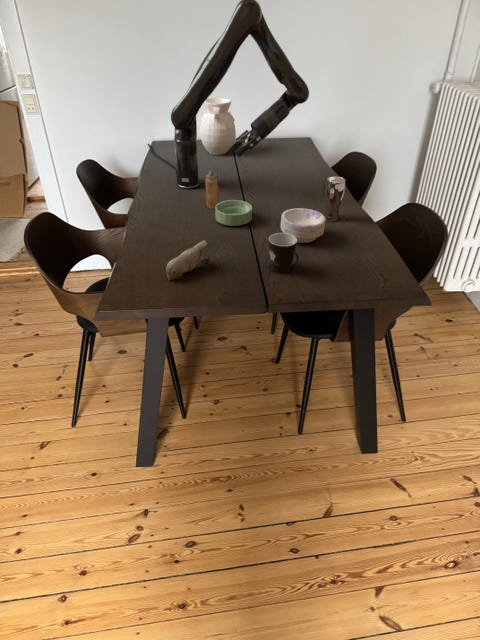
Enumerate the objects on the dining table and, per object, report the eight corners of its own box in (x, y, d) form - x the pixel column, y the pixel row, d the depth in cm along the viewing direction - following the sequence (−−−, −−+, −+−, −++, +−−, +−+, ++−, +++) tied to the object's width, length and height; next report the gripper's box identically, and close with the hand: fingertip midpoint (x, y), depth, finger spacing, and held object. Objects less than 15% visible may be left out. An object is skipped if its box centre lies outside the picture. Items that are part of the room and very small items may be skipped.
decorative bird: (162, 277, 130) (159, 255, 126) (201, 258, 140) (199, 237, 135) (173, 284, 127) (171, 262, 123) (212, 264, 137) (211, 243, 132)
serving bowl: (208, 218, 163) (207, 205, 160) (236, 209, 170) (236, 197, 167) (230, 231, 155) (230, 218, 152) (259, 221, 162) (259, 208, 159)
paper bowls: (326, 231, 156) (329, 210, 151) (318, 250, 144) (321, 228, 139) (285, 224, 159) (287, 204, 154) (274, 243, 148) (276, 221, 143)
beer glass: (339, 222, 161) (346, 183, 152) (320, 221, 162) (326, 182, 153) (340, 215, 166) (346, 176, 157) (321, 213, 167) (327, 175, 158)
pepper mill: (204, 205, 173) (202, 170, 164) (213, 202, 175) (212, 168, 166) (211, 209, 170) (209, 174, 161) (220, 206, 172) (220, 171, 163)
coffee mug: (265, 261, 138) (266, 233, 132) (291, 260, 139) (294, 232, 133) (270, 281, 129) (272, 251, 123) (298, 279, 130) (301, 250, 124)
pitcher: (235, 157, 220) (235, 104, 205) (199, 157, 220) (196, 104, 205) (236, 147, 235) (236, 96, 219) (202, 146, 235) (200, 96, 220)
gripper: (253, 113, 170) (223, 142, 171) (266, 117, 158) (234, 148, 160) (264, 129, 174) (234, 157, 176) (277, 134, 162) (245, 164, 164)
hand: (234, 153), depth 168 cm, fingers open, 8 cm apart
